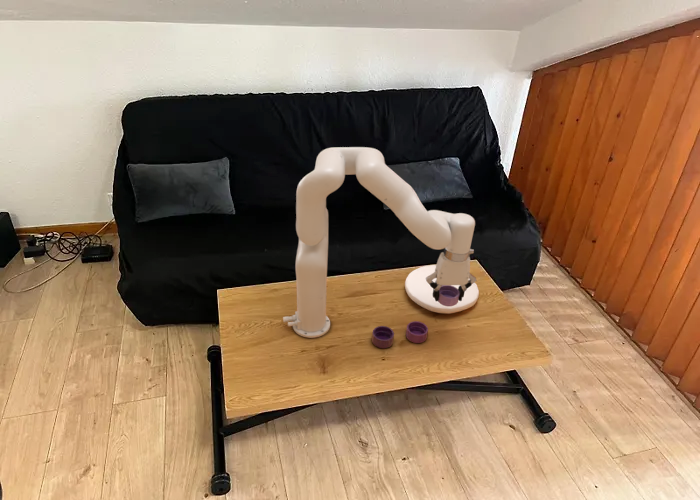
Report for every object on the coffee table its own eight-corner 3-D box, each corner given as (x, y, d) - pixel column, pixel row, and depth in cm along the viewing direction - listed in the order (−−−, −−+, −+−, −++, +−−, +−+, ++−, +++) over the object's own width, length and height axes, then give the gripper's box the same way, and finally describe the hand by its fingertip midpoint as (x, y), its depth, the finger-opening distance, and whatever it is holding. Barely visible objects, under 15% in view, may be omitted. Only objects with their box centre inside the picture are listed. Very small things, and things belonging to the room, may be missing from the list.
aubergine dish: (375, 350, 157) (376, 341, 155) (369, 336, 163) (370, 327, 161) (395, 347, 159) (396, 339, 157) (389, 333, 164) (390, 324, 162)
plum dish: (409, 345, 160) (411, 336, 158) (402, 331, 165) (404, 322, 163) (429, 342, 161) (431, 333, 159) (422, 328, 167) (423, 320, 165)
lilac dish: (441, 308, 157) (443, 299, 155) (433, 295, 162) (434, 286, 160) (461, 306, 158) (463, 296, 156) (452, 293, 164) (454, 283, 162)
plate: (429, 254, 197) (492, 281, 184) (426, 268, 200) (487, 295, 187) (392, 280, 176) (459, 311, 163) (389, 295, 179) (455, 327, 166)
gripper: (480, 246, 154) (470, 291, 164) (425, 246, 153) (418, 291, 162) (487, 259, 148) (476, 305, 157) (430, 259, 146) (423, 306, 156)
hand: (447, 298), depth 160 cm, fingers closed on lilac dish, 7 cm apart
